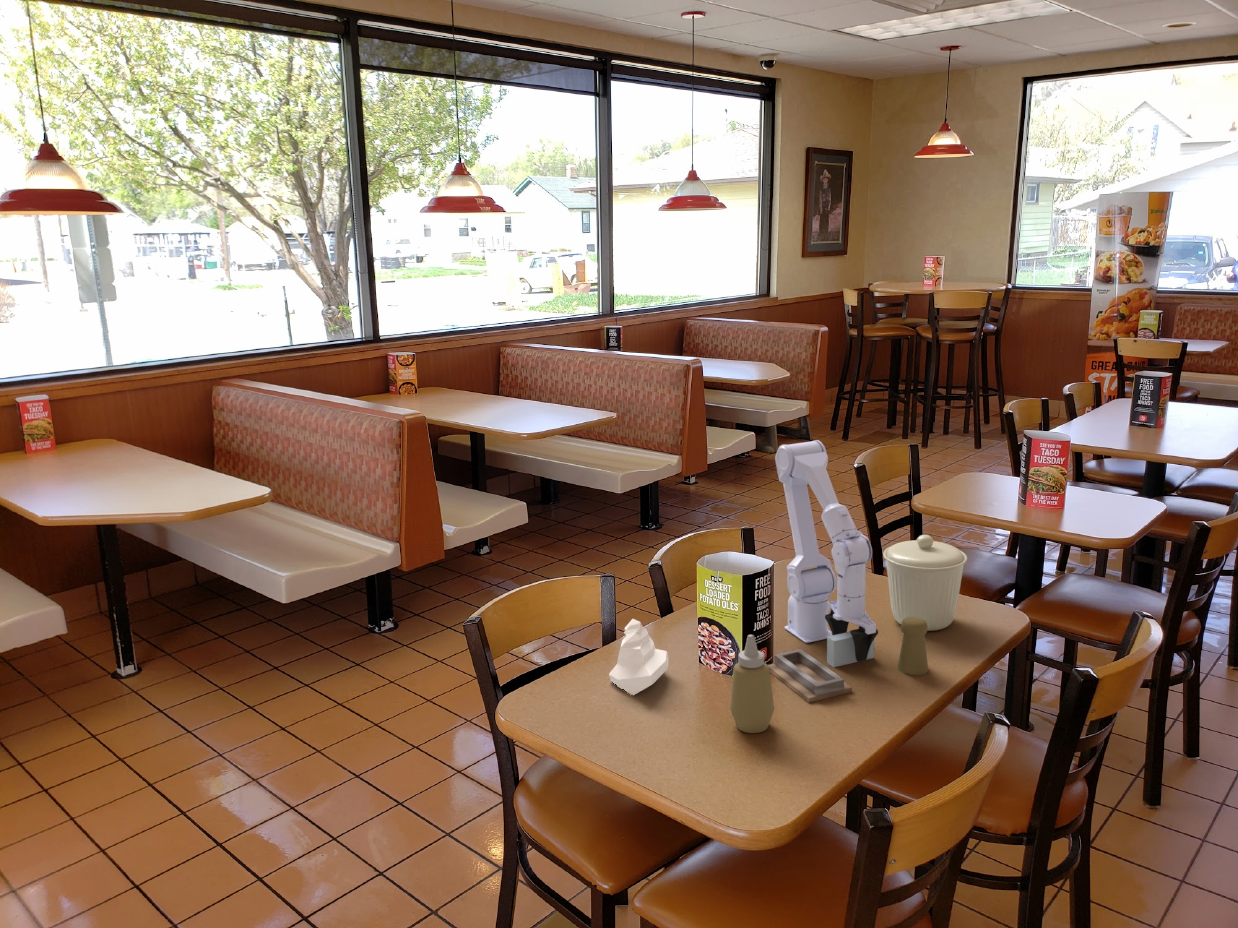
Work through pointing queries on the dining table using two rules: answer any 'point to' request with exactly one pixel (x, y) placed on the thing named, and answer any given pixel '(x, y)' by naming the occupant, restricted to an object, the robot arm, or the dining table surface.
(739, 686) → the squeeze bottle
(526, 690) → the dining table surface
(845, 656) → the pale blue rectangular brick
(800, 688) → the track
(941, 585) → the canister
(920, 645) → the cork
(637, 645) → the soft serve ice cream
